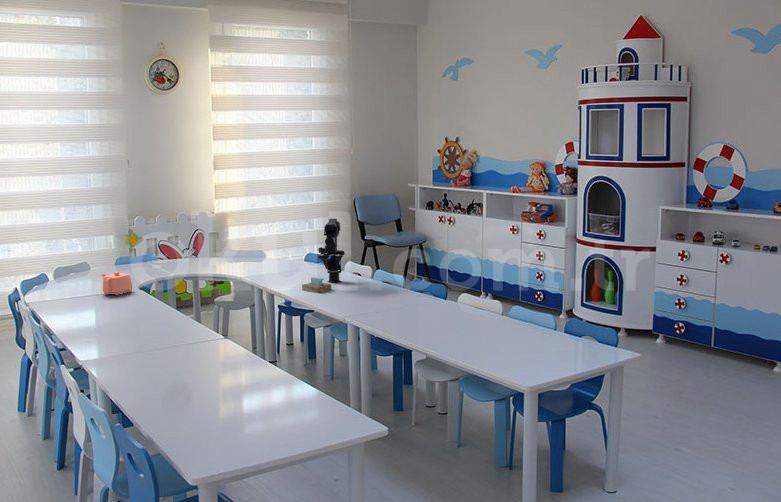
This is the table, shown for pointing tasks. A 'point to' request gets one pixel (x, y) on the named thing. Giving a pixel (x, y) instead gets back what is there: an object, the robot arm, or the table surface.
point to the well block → (316, 287)
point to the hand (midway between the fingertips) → (331, 267)
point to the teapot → (116, 283)
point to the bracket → (316, 281)
